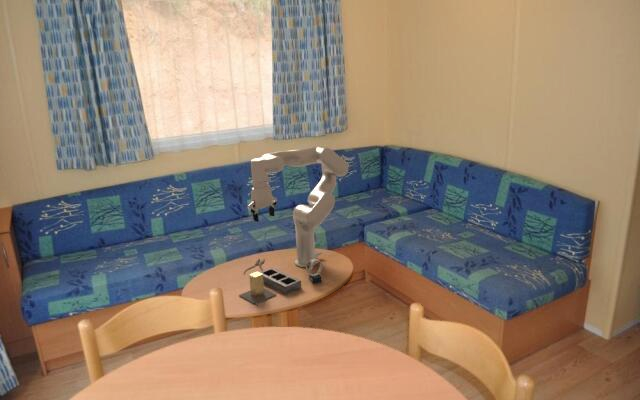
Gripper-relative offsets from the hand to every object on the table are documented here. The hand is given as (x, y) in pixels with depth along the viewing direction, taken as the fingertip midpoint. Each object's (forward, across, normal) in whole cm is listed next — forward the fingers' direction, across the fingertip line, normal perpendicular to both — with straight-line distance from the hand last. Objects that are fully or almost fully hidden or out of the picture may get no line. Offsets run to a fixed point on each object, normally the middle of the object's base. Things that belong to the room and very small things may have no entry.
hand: (264, 218), depth 232 cm
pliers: (+30, 0, -13) cm, 33 cm away
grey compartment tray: (+30, +4, +13) cm, 33 cm away
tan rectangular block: (+29, +18, +14) cm, 37 cm away
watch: (+30, -9, +23) cm, 39 cm away
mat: (+29, +18, +14) cm, 37 cm away
